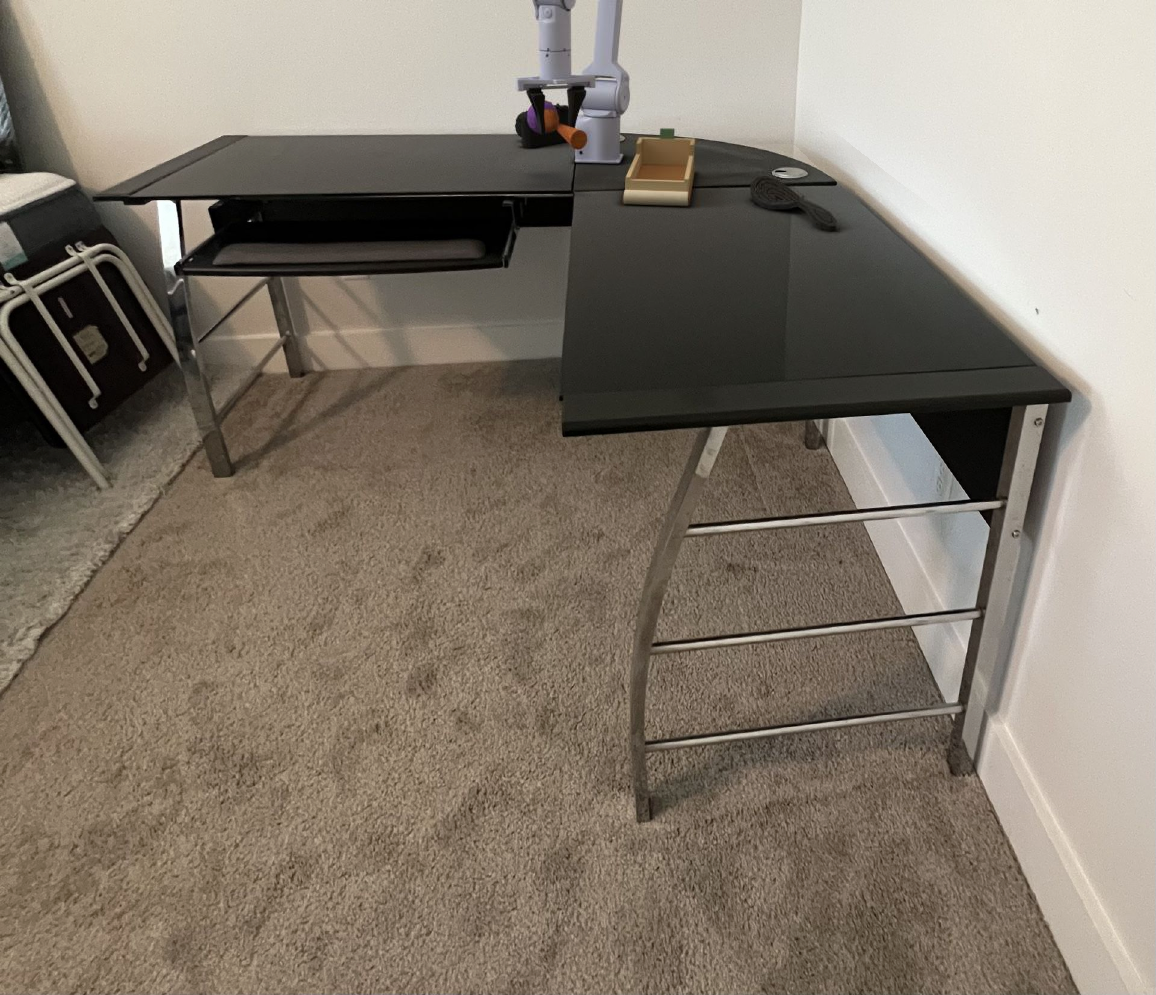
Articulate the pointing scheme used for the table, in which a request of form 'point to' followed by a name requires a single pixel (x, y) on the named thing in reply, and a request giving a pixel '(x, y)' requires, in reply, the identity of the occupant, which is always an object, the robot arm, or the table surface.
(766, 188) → the hairbrush
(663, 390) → the table surface
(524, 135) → the film camera
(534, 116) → the kendama
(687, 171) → the wooden tray
